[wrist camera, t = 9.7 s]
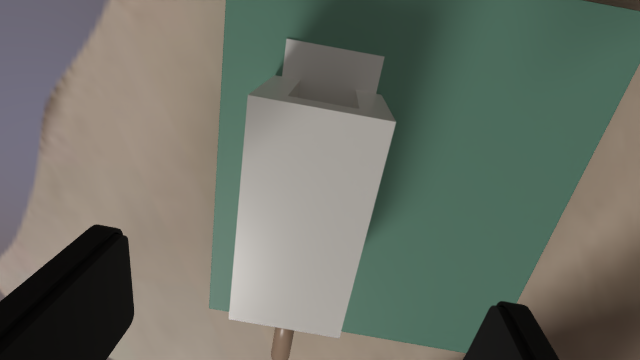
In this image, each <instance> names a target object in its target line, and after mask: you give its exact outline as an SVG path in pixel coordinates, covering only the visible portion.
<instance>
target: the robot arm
mask: <svg viewBox="0 0 640 360" xmlns="http://www.w3.org/2000/svg"><path fill="white" fill-rule="evenodd" d="M133 317H134V303H133V291H132V279H131V268H130V256H129V244H128V238H127V237H126V236H124V235H123V233H122V231H121V229H118V228H113V227H108V226H103V225H93V226H92V227H90V228H89V229H88V230H86V231H85V232H84V233H83V234H82V235H80V236H79V237H78V238H77V239H76V240H74V241H73V242H72V243H71V244H69V245H68V246H67V247H66V248H65V249H63V250H62V251H61V252H60V253H59V254H57V255H56V256H55V257H54V258H52V259H51V260H50V261H49V262H48V263H46V264H45V265H44V266H43V267H42V268H40V269H39V270H38V271H37V272H35V273H34V274H33V275H32V276H31V277H29V278H28V279H27V280H26V281H25V282H23V283H22V284H21V285H20V286H18V287H17V288H16V289H15V290H14V291H12V292H11V293H10V294H9V295H8V296H6V297H5V298H4V299H3V300H1V301H0V360H106V359H107V358H108V356H109V355H110V354H111V352H112V351H113V349H114V348H115V346H116V345H117V344H118V342H119V341H120V339H121V338H122V337H123V335H124V334H125V332H126V331H127V329H128V328H129V326H130V325H131V323H132V320H133ZM463 360H559V358H558V357H557V355H556V353H555V352H554V350H553V348H552V347H551V345H550V343H549V342H548V340H547V338H546V336H545V335H544V333H543V331H542V330H541V328H540V326H539V325H538V323H537V321H536V320H535V318H534V316H533V314H532V313H531V311H530V310H529V308H528V307H527V306H525V305H521V304H516V303H511V302H505V301H500V302H498V303H497V305H496V306H495V305H493V306H491V307H490V308H489V310H488V312H487V314H486V316H485V318H484V320H483V322H482V324H481V326H480V328H479V330H478V332H477V334H476V336H475V337H474V339H473V341H472V343H471V345H470V347H469V349H468V351H467V353H466V355H465V357H464V359H463Z"/></svg>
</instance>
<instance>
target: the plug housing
mask: <svg viewBox="0 0 640 360" xmlns="http://www.w3.org/2000/svg"><path fill="white" fill-rule="evenodd" d="M299 85H300V80H298V79H293V78H287V77H282V76H277V75H274V76H273V77H271V78H270V79H269V80H267V81H266V82H265V83H263V84H262V85H261V86H259V87H258V88H256V89H255V90H254V91H252V92H251V93H250V94H248V98H247V110H246V122H245V134H244V145H243V157H242V169H241V180H240V192H239V204H238V215H237V227H236V239H235V250H234V262H233V274H232V285H231V297H230V309H229V319H231V320H237V321H243V322H248V323H254V324H260V325H266V326H271V327H275V332H274V338H273V344H272V351H271V357H272V360H288V358H289V355H290V350H291V344H292V339H293V334H294V331H300V332H306V333H312V334H317V335H323V336H329V337H335V338H339V337H340V334H341V330H342V326H343V322H344V318H345V315H346V311H347V307H348V303H349V299H350V296H351V292H352V288H353V284H354V280H355V277H356V273H357V269H358V265H359V261H360V258H361V254H362V250H363V246H364V242H365V239H366V235H367V231H368V227H369V223H370V220H371V216H372V212H373V208H374V204H375V200H376V197H377V193H378V189H379V185H380V181H381V178H382V174H383V170H384V166H385V162H386V159H387V155H388V151H389V147H390V143H391V140H392V136H393V132H394V128H395V124H396V121H395V119H394V117H393V115H392V113H391V112H390V110H389V108H388V106H387V104H386V102H385V100H384V99H383V97H382V95H380V94H375V93H369V92H364V91H358V90H356V92H355V96H354V101H353V106H352V108H351V107H346V106H340V105H335V104H329V103H324V102H319V101H313V100H308V99H302V98H298V92H299Z"/></svg>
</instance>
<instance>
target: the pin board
mask: <svg viewBox="0 0 640 360" xmlns="http://www.w3.org/2000/svg"><path fill="white" fill-rule="evenodd" d="M639 64H640V11H636V10H631V9H626V8H620V7H615V6H610V5H604V4H599V3H594V2H588V1H583V0H226V9H225V27H224V45H223V63H222V82H221V100H220V118H219V136H218V154H217V172H216V191H215V209H214V227H213V245H212V263H211V281H210V300H209V308H210V309H216V310H222V311H228V312H229V309H230V297H231V285H232V274H233V262H234V250H235V239H236V227H237V215H238V204H239V192H240V180H241V169H242V157H243V145H244V134H245V122H246V110H247V98H248V94H250V93H251V92H252V91H254V90H255V89H256V88H258V87H259V86H261V85H262V84H263V83H265V82H266V81H267V80H269V79H270V78H271V77H273V76H274V75H277V76H282V77H287V78H293V79H298V80H300V85H299V92H298V98H302V99H308V100H313V101H319V102H324V103H329V104H335V105H340V106H346V107H351V108H352V106H353V101H354V96H355V92H356V90H358V91H364V92H369V93H375V94H380V95H382V97H383V99H384V100H385V102H386V104H387V106H388V108H389V110H390V112H391V113H392V115H393V117H394V119H395V121H396V124H395V128H394V132H393V136H392V140H391V143H390V147H389V151H388V155H387V159H386V162H385V166H384V170H383V174H382V178H381V181H380V185H379V189H378V193H377V197H376V200H375V204H374V208H373V212H372V216H371V220H370V223H369V227H368V231H367V235H366V239H365V242H364V246H363V250H362V254H361V258H360V261H359V265H358V269H357V273H356V277H355V280H354V284H353V288H352V292H351V296H350V299H349V303H348V307H347V311H346V315H345V318H344V322H343V326H342V330H341V331H342V332H348V333H354V334H359V335H365V336H371V337H377V338H382V339H388V340H394V341H399V342H405V343H411V344H417V345H422V346H428V347H434V348H440V349H445V350H451V351H457V352H463V353H467V351H468V349H469V347H470V345H471V343H472V341H473V339H474V337H475V336H476V334H477V332H478V330H479V328H480V326H481V324H482V322H483V320H484V318H485V316H486V314H487V312H488V310H489V308H490V307H491V306H493V305H495V306H496V305H497V303H498V302H500V301H505V302H511V303H517V301H518V299H519V297H520V295H521V293H522V291H523V289H524V287H525V285H526V283H527V281H528V280H529V278H530V276H531V274H532V272H533V270H534V268H535V266H536V264H537V262H538V260H539V258H540V256H541V254H542V252H543V250H544V248H545V246H546V245H547V243H548V241H549V239H550V237H551V235H552V233H553V231H554V229H555V227H556V225H557V223H558V221H559V219H560V217H561V215H562V213H563V211H564V209H565V208H566V206H567V204H568V202H569V200H570V198H571V196H572V194H573V192H574V190H575V188H576V186H577V184H578V182H579V180H580V178H581V176H582V174H583V173H584V171H585V169H586V167H587V165H588V163H589V161H590V159H591V157H592V155H593V153H594V151H595V149H596V147H597V145H598V143H599V141H600V139H601V137H602V136H603V134H604V132H605V130H606V128H607V126H608V124H609V122H610V120H611V118H612V116H613V114H614V112H615V110H616V108H617V106H618V104H619V102H620V101H621V99H622V97H623V95H624V93H625V91H626V89H627V87H628V85H629V83H630V81H631V79H632V77H633V75H634V73H635V71H636V69H637V67H638V65H639Z"/></svg>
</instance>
